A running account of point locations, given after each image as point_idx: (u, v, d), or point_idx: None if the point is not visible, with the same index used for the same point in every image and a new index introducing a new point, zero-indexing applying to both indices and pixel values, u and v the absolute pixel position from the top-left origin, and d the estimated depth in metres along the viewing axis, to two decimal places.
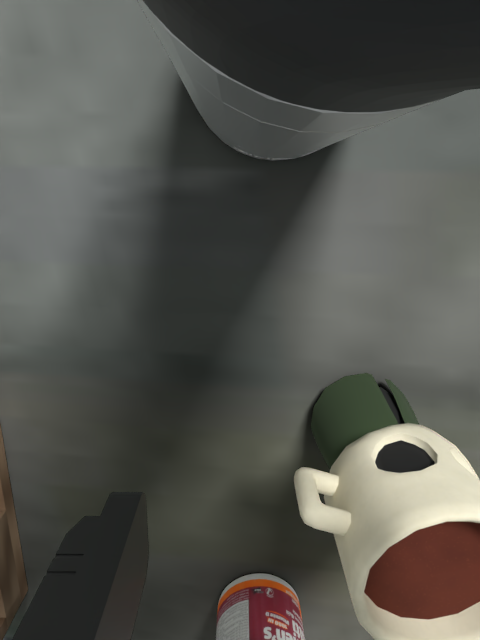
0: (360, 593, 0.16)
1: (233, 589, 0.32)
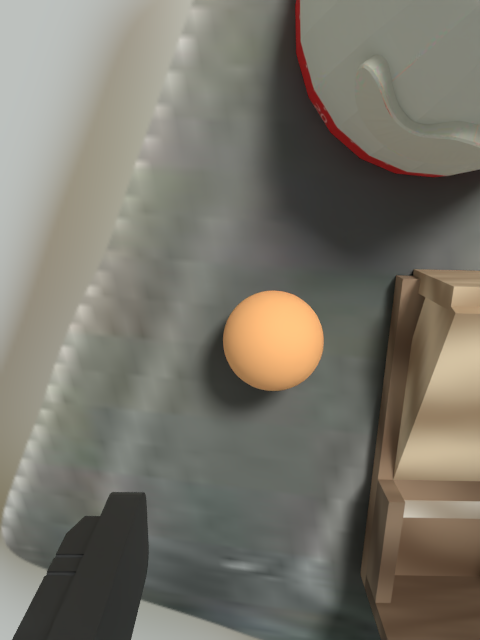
0: None
1: None
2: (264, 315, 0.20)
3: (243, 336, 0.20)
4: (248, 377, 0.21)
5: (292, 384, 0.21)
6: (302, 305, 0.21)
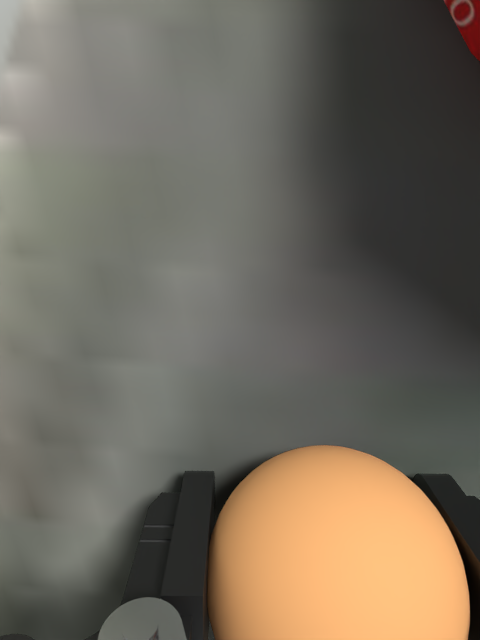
0: None
1: None
2: (322, 571, 0.07)
3: (260, 629, 0.07)
4: None
5: None
6: (417, 512, 0.08)
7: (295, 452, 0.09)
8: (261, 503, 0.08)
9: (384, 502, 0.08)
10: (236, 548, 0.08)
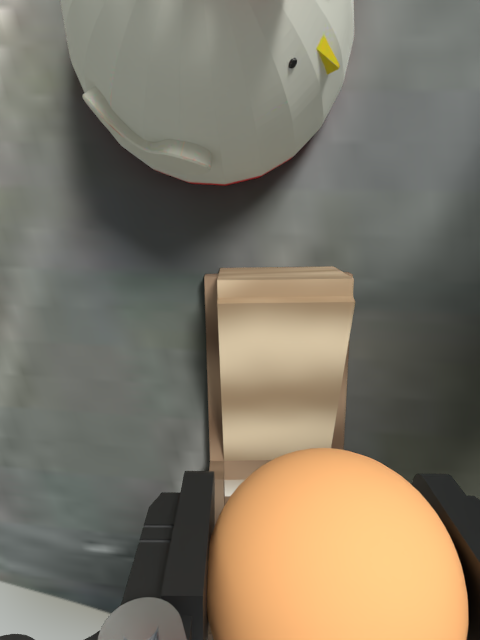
0: None
1: None
2: (320, 575, 0.07)
3: (259, 633, 0.07)
4: None
5: None
6: (416, 515, 0.08)
7: (294, 455, 0.09)
8: (260, 506, 0.08)
9: (383, 505, 0.08)
10: (235, 551, 0.08)
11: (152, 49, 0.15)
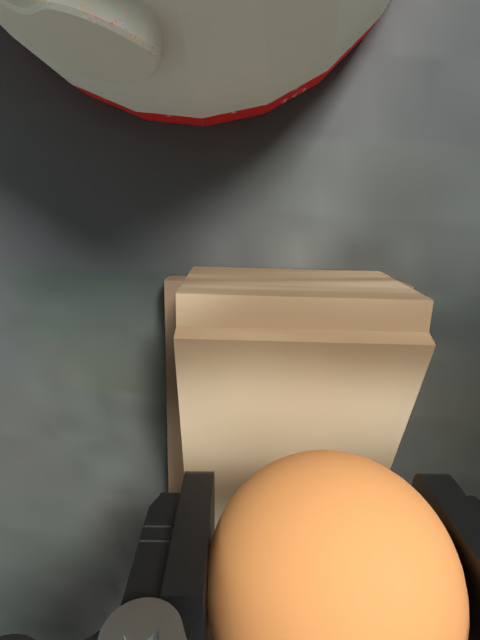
0: None
1: None
2: (321, 577, 0.07)
3: (260, 635, 0.07)
4: None
5: None
6: (417, 518, 0.08)
7: (295, 457, 0.09)
8: (261, 508, 0.08)
9: (384, 507, 0.08)
10: (236, 553, 0.08)
11: None
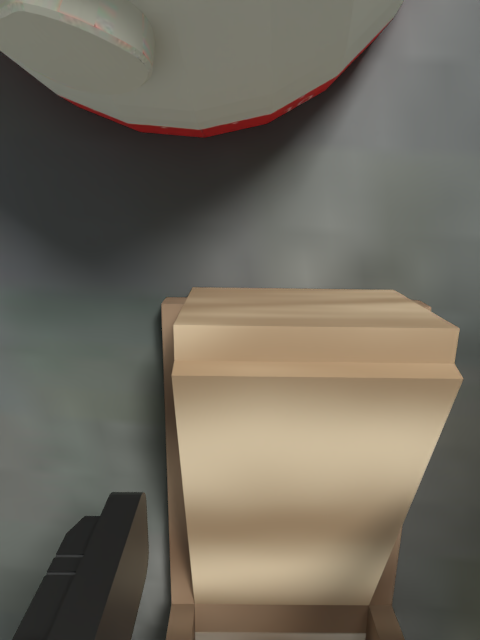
0: None
1: None
2: None
3: None
4: None
5: None
6: None
7: None
8: None
9: None
10: None
11: None
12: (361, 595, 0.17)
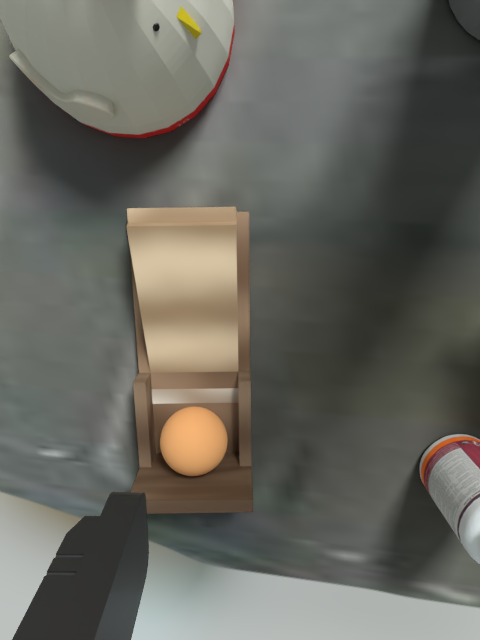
0: None
1: (439, 445, 0.36)
2: (185, 410, 0.32)
3: (171, 422, 0.32)
4: (172, 451, 0.31)
5: (203, 456, 0.31)
6: None
7: None
8: None
9: (202, 407, 0.33)
10: (168, 419, 0.33)
11: (46, 15, 0.20)
12: (232, 363, 0.34)
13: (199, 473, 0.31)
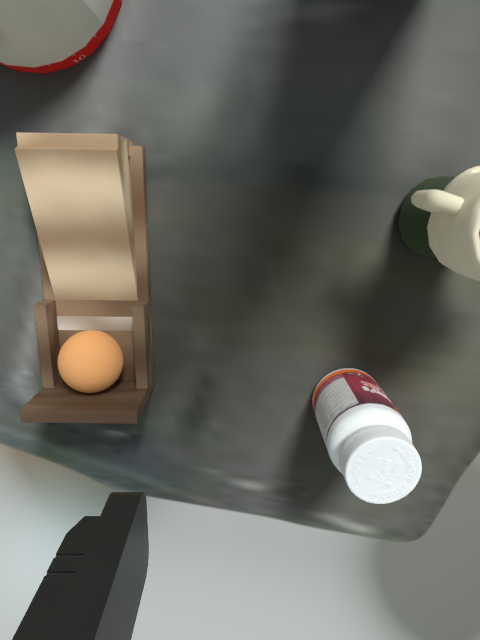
0: (477, 229, 0.23)
1: (327, 377, 0.38)
2: (82, 331, 0.35)
3: (67, 341, 0.34)
4: (65, 365, 0.33)
5: (93, 370, 0.33)
6: (109, 335, 0.36)
7: None
8: None
9: None
10: None
11: None
12: (130, 291, 0.36)
13: (91, 388, 0.34)
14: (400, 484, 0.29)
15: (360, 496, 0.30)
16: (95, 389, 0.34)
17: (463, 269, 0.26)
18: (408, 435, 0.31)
